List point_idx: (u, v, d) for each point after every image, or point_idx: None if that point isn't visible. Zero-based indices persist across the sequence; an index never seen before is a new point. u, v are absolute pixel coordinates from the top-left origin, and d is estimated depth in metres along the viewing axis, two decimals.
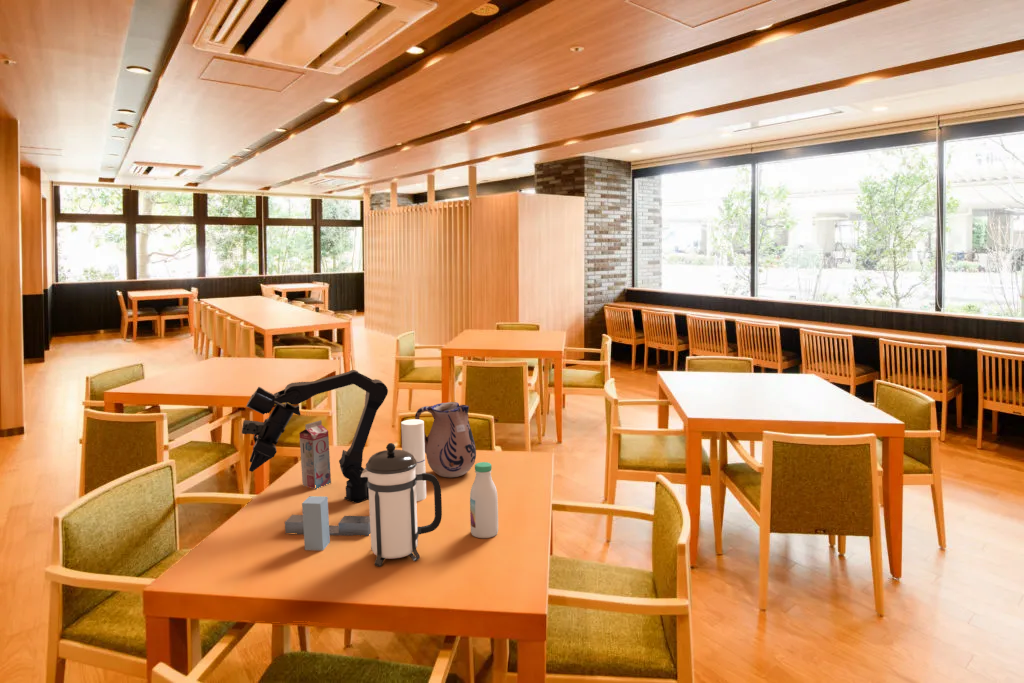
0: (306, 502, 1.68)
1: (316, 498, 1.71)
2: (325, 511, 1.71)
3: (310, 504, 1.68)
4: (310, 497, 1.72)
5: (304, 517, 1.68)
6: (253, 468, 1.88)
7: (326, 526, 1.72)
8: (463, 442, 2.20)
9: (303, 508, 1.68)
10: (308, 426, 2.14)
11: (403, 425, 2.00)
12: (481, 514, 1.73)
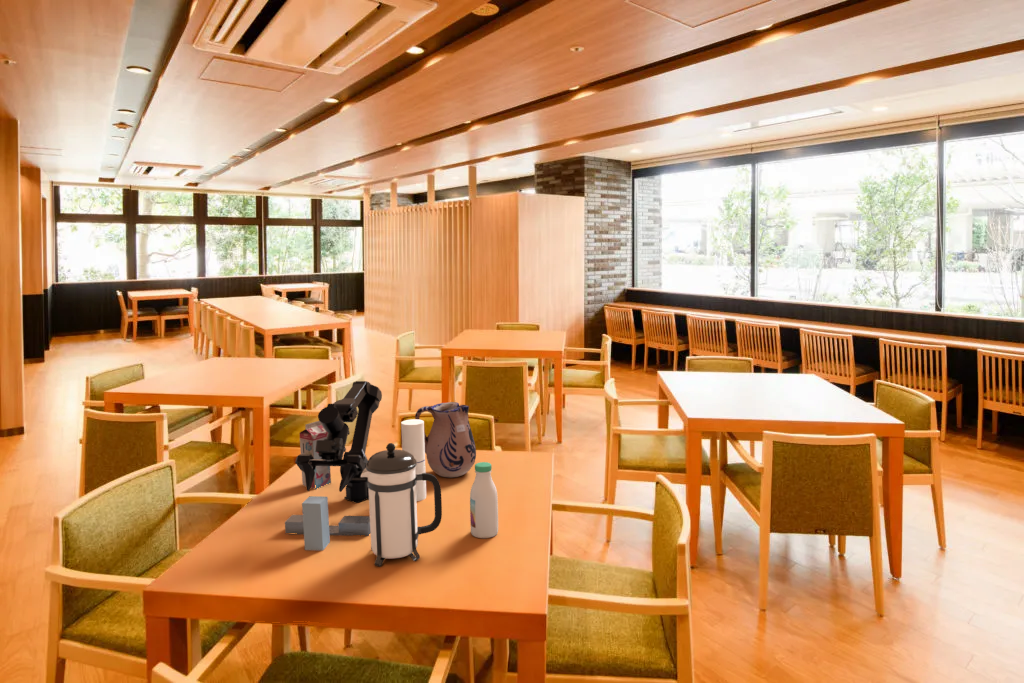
0: (306, 502, 1.68)
1: (316, 498, 1.71)
2: (325, 511, 1.71)
3: (310, 504, 1.68)
4: (310, 497, 1.72)
5: (304, 517, 1.68)
6: (343, 487, 1.77)
7: (326, 526, 1.72)
8: (463, 442, 2.20)
9: (303, 508, 1.68)
10: (308, 426, 2.14)
11: (403, 425, 2.00)
12: (481, 514, 1.73)
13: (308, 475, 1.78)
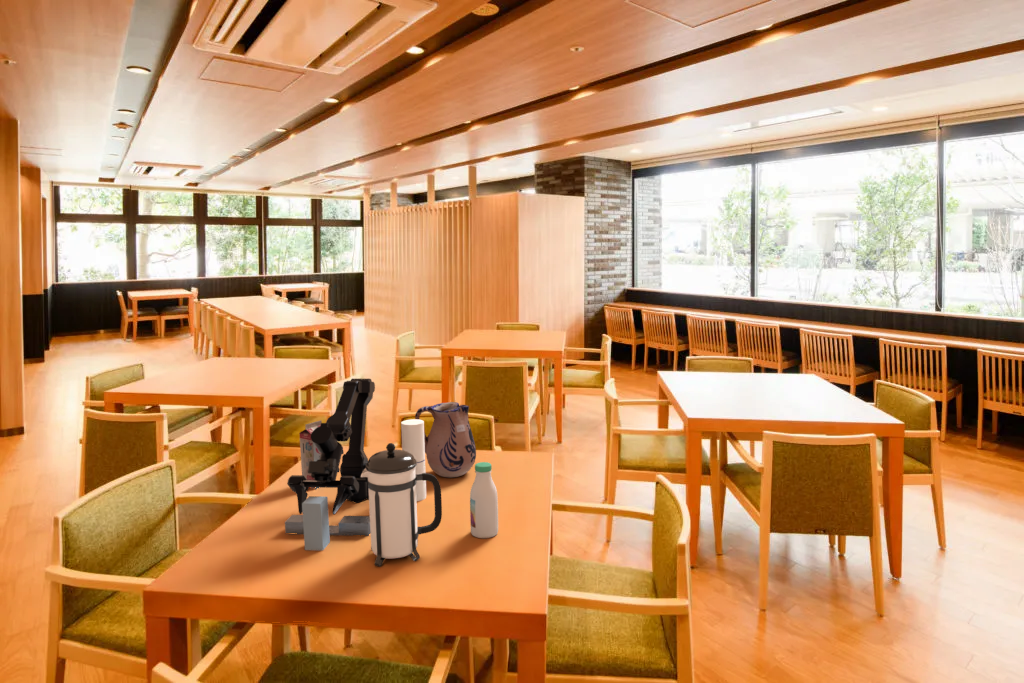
0: (306, 502, 1.68)
1: (316, 498, 1.71)
2: (325, 511, 1.71)
3: (310, 504, 1.68)
4: (310, 497, 1.72)
5: (304, 517, 1.68)
6: (336, 510, 1.72)
7: (326, 526, 1.72)
8: (463, 442, 2.20)
9: (303, 508, 1.68)
10: (308, 426, 2.14)
11: (403, 425, 2.00)
12: (481, 514, 1.73)
13: (300, 497, 1.73)
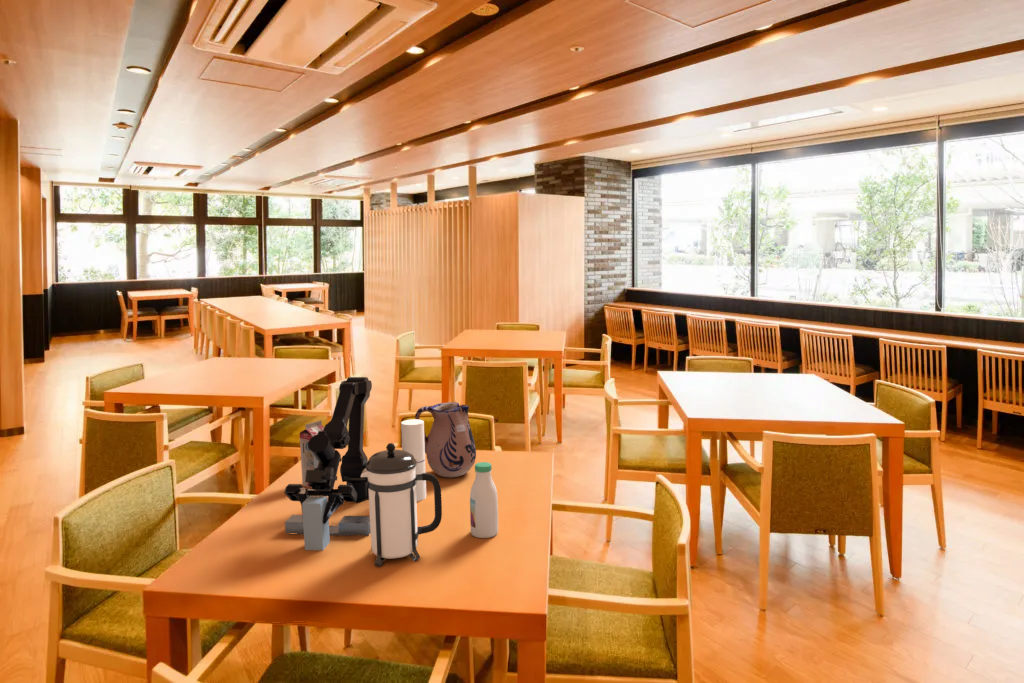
0: (306, 502, 1.68)
1: (316, 498, 1.71)
2: None
3: (310, 504, 1.68)
4: (310, 497, 1.72)
5: (304, 517, 1.68)
6: (327, 519, 1.70)
7: (326, 526, 1.72)
8: (463, 442, 2.20)
9: (303, 508, 1.68)
10: (308, 426, 2.14)
11: (403, 425, 2.00)
12: (481, 514, 1.73)
13: None
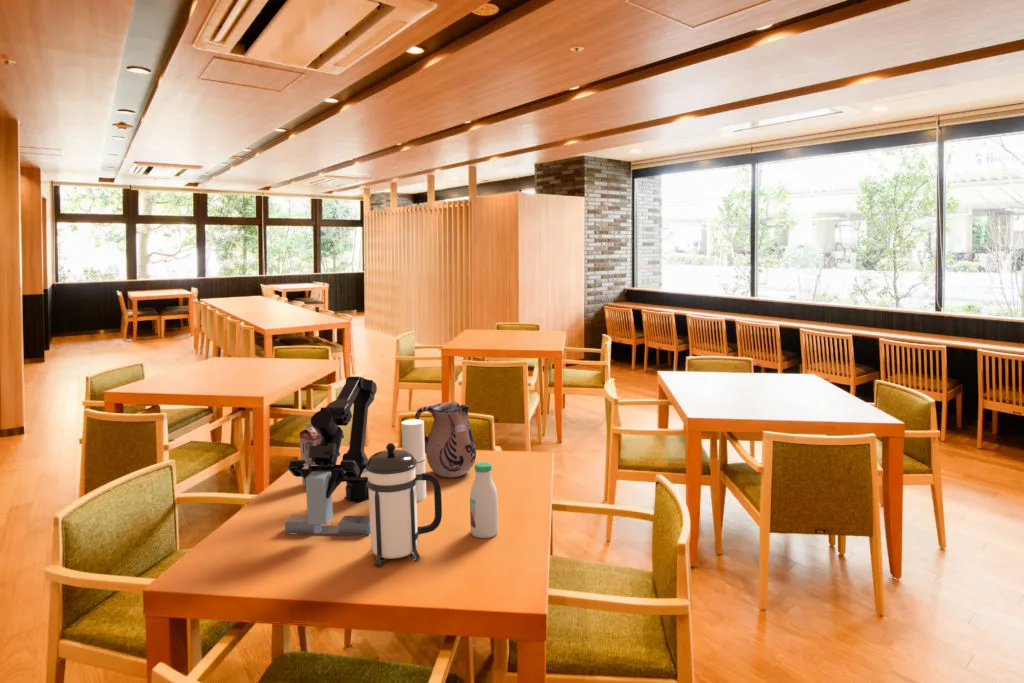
0: (309, 477, 1.70)
1: (319, 473, 1.73)
2: None
3: (313, 479, 1.70)
4: (313, 472, 1.74)
5: (307, 492, 1.70)
6: (330, 494, 1.72)
7: (329, 501, 1.74)
8: (463, 442, 2.20)
9: (306, 483, 1.70)
10: (308, 426, 2.14)
11: (403, 425, 2.00)
12: (481, 514, 1.73)
13: None
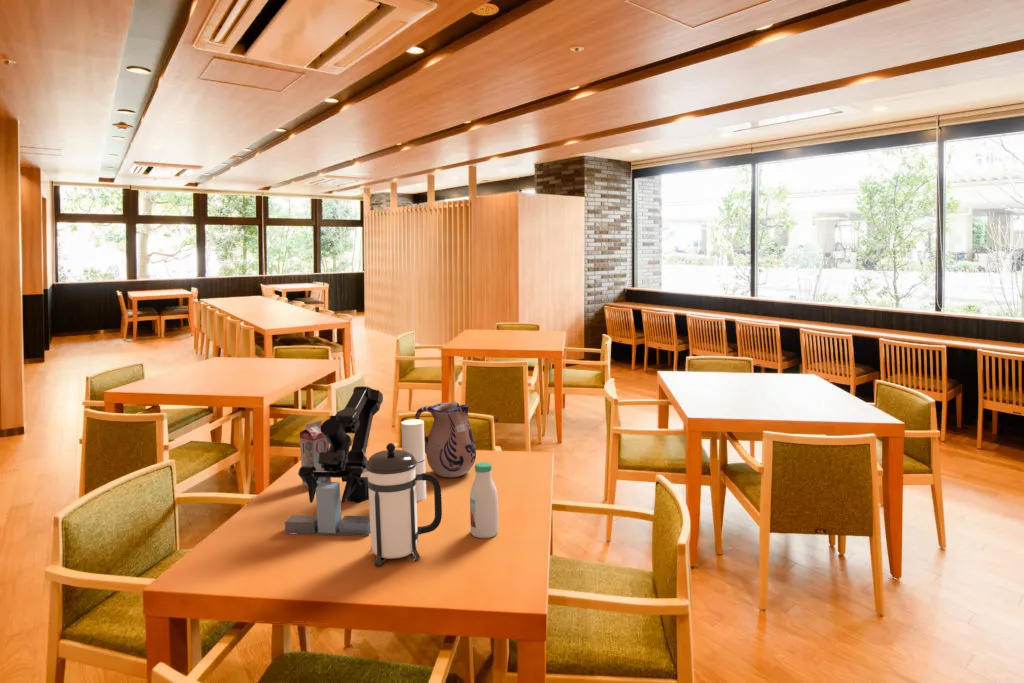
0: (320, 487, 1.77)
1: (329, 483, 1.81)
2: (337, 496, 1.80)
3: (323, 489, 1.77)
4: (323, 483, 1.81)
5: (317, 501, 1.77)
6: (345, 499, 1.79)
7: (338, 510, 1.81)
8: (463, 442, 2.20)
9: (316, 493, 1.77)
10: (308, 426, 2.14)
11: (403, 425, 2.00)
12: (481, 514, 1.73)
13: (311, 487, 1.80)
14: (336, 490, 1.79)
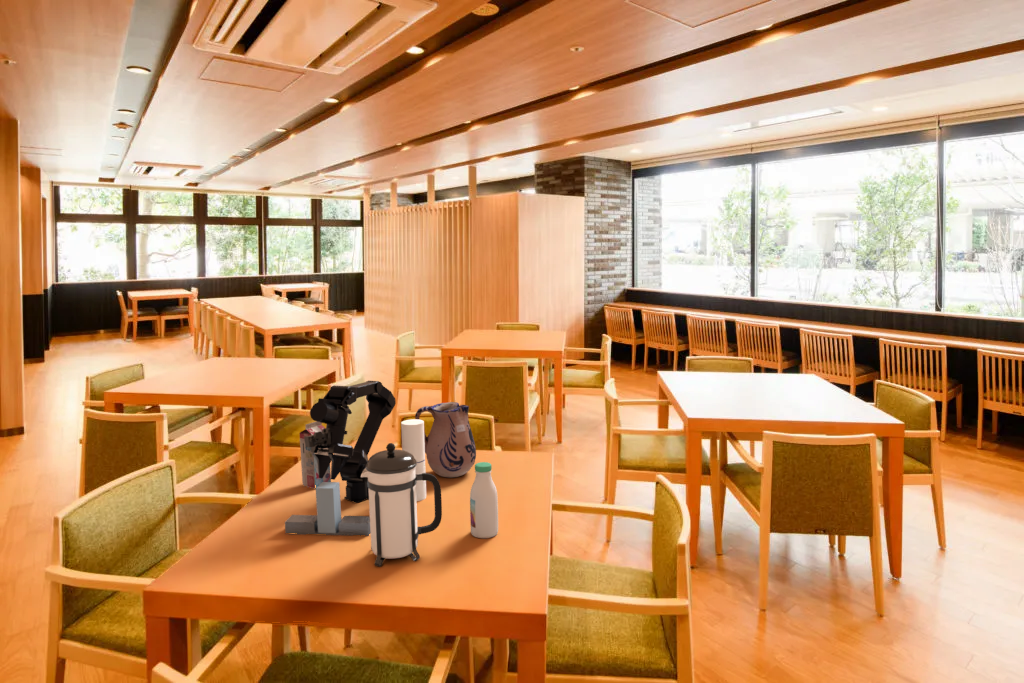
0: (320, 487, 1.77)
1: (329, 483, 1.81)
2: (337, 496, 1.80)
3: (323, 489, 1.77)
4: (323, 483, 1.81)
5: (317, 501, 1.77)
6: (335, 475, 1.85)
7: (338, 510, 1.81)
8: (463, 442, 2.20)
9: (316, 493, 1.77)
10: (308, 426, 2.14)
11: (403, 425, 2.00)
12: (481, 514, 1.73)
13: (318, 464, 1.93)
14: (336, 490, 1.79)
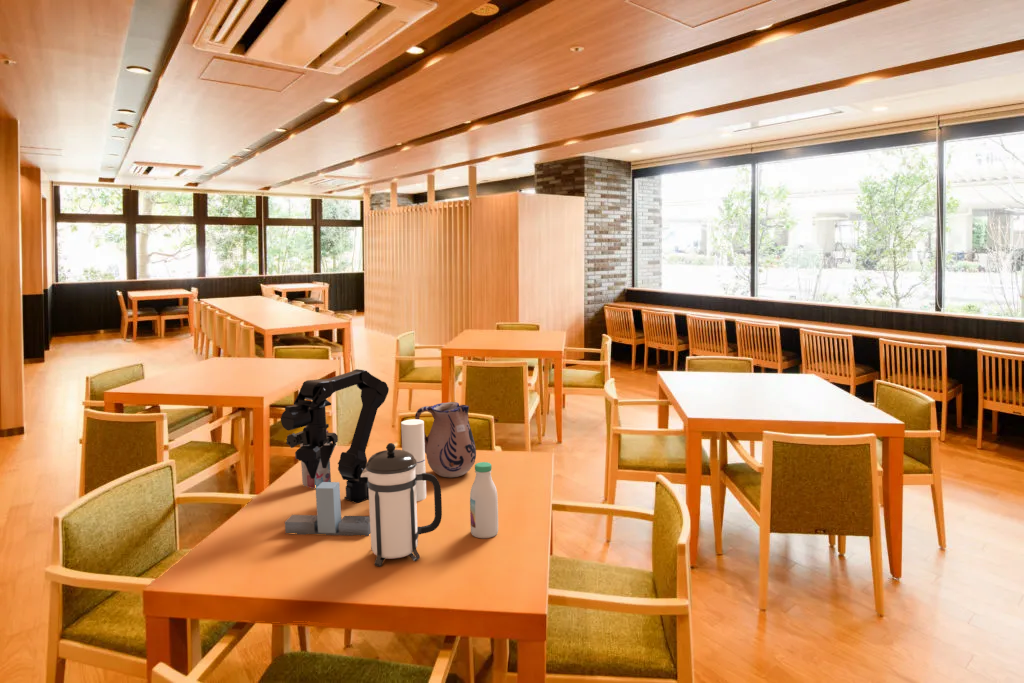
0: (320, 487, 1.77)
1: (329, 483, 1.81)
2: (337, 496, 1.80)
3: (323, 489, 1.77)
4: (323, 483, 1.81)
5: (317, 501, 1.77)
6: (313, 475, 1.86)
7: (338, 510, 1.81)
8: (463, 442, 2.20)
9: (316, 493, 1.77)
10: None
11: (403, 425, 2.00)
12: (481, 514, 1.73)
13: None
14: (336, 490, 1.79)
